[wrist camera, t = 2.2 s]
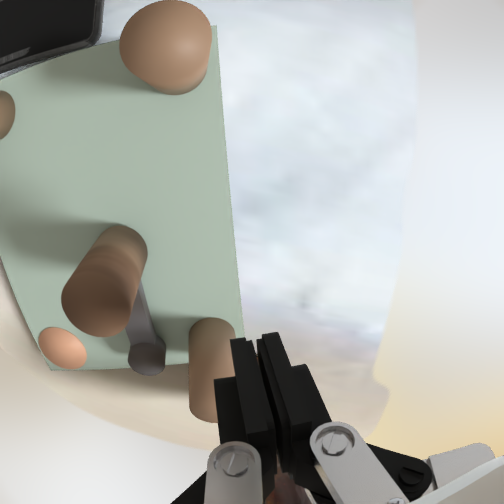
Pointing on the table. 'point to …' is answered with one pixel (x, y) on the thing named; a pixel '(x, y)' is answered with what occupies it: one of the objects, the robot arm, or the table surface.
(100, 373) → the table surface
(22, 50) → the phone
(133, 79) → the stool seat
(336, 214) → the table surface
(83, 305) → the folding leg
